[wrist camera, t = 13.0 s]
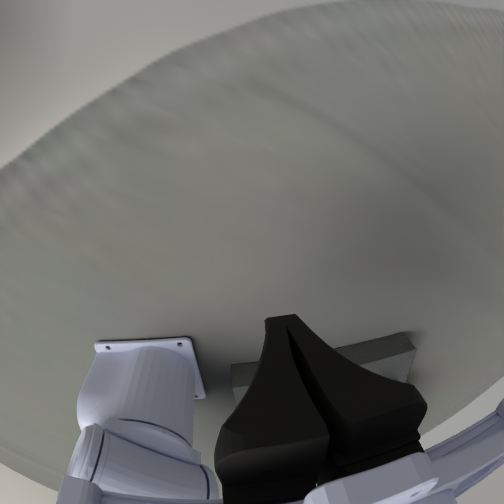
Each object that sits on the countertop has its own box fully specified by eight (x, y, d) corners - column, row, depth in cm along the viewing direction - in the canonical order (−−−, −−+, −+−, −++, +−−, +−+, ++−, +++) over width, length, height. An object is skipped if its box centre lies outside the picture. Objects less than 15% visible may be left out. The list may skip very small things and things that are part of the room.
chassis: (249, 459, 33) (252, 479, 30) (230, 364, 26) (232, 391, 23) (373, 432, 35) (381, 449, 31) (406, 331, 27) (422, 350, 24)
